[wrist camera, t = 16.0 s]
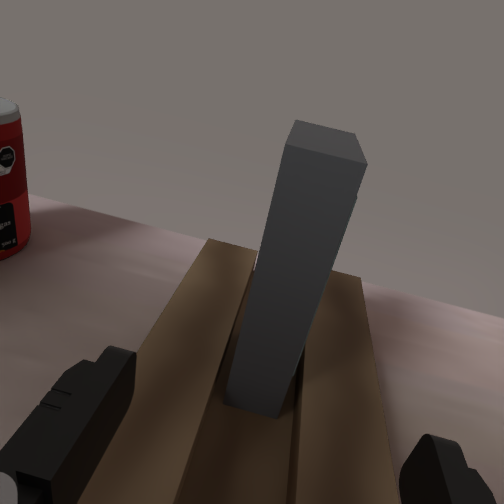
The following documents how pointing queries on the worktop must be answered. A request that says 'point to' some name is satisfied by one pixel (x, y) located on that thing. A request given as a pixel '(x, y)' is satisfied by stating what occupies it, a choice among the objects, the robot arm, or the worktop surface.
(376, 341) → the worktop surface
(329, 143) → the grey rectangular block
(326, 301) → the brown grooved block
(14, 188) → the canned food
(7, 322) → the worktop surface
